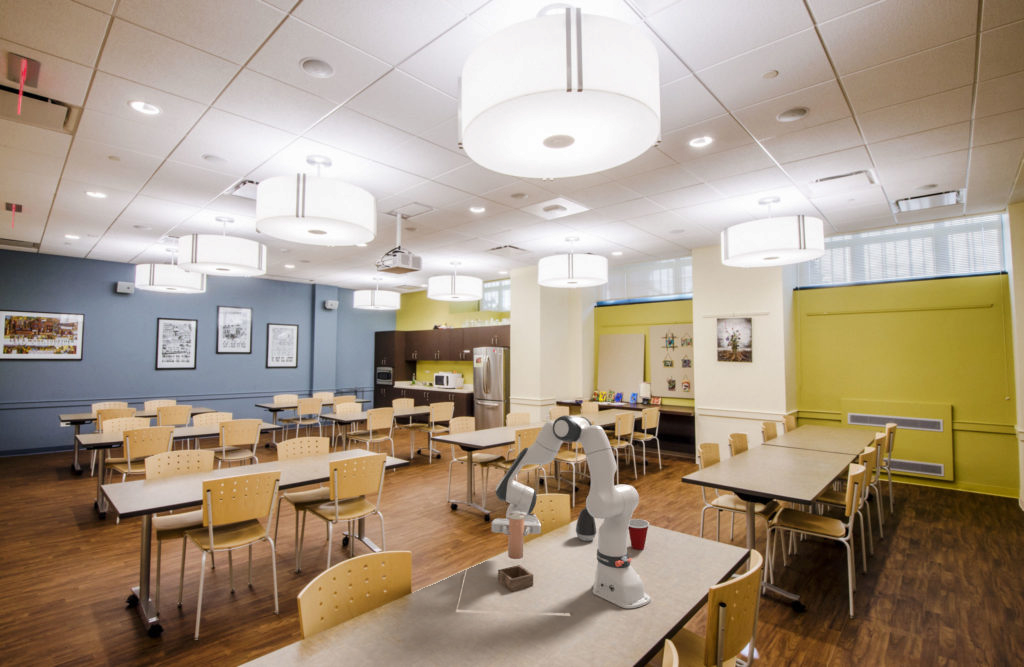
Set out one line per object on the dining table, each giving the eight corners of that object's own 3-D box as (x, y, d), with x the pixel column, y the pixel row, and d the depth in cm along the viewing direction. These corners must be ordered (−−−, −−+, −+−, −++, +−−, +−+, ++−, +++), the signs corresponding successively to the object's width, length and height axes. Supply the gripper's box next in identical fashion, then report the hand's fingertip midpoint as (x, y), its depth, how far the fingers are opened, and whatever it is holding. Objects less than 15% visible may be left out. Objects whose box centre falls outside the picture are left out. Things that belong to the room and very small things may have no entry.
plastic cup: (621, 545, 229) (621, 519, 230) (638, 542, 234) (639, 517, 234) (635, 553, 219) (636, 527, 220) (654, 550, 224) (654, 524, 224)
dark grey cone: (595, 536, 240) (595, 505, 241) (597, 543, 230) (597, 511, 231) (575, 534, 241) (575, 504, 242) (575, 542, 231) (576, 510, 232)
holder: (533, 587, 183) (533, 574, 183) (510, 593, 178) (511, 580, 178) (519, 577, 192) (519, 564, 192) (497, 583, 186) (498, 569, 187)
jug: (508, 552, 192) (509, 512, 193) (523, 553, 192) (524, 512, 193) (507, 561, 183) (508, 519, 184) (523, 562, 183) (524, 519, 184)
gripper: (492, 513, 202) (490, 524, 189) (539, 514, 202) (541, 526, 188) (491, 528, 202) (489, 540, 188) (539, 529, 202) (541, 542, 188)
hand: (516, 533), depth 188 cm, fingers closed on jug, 6 cm apart
